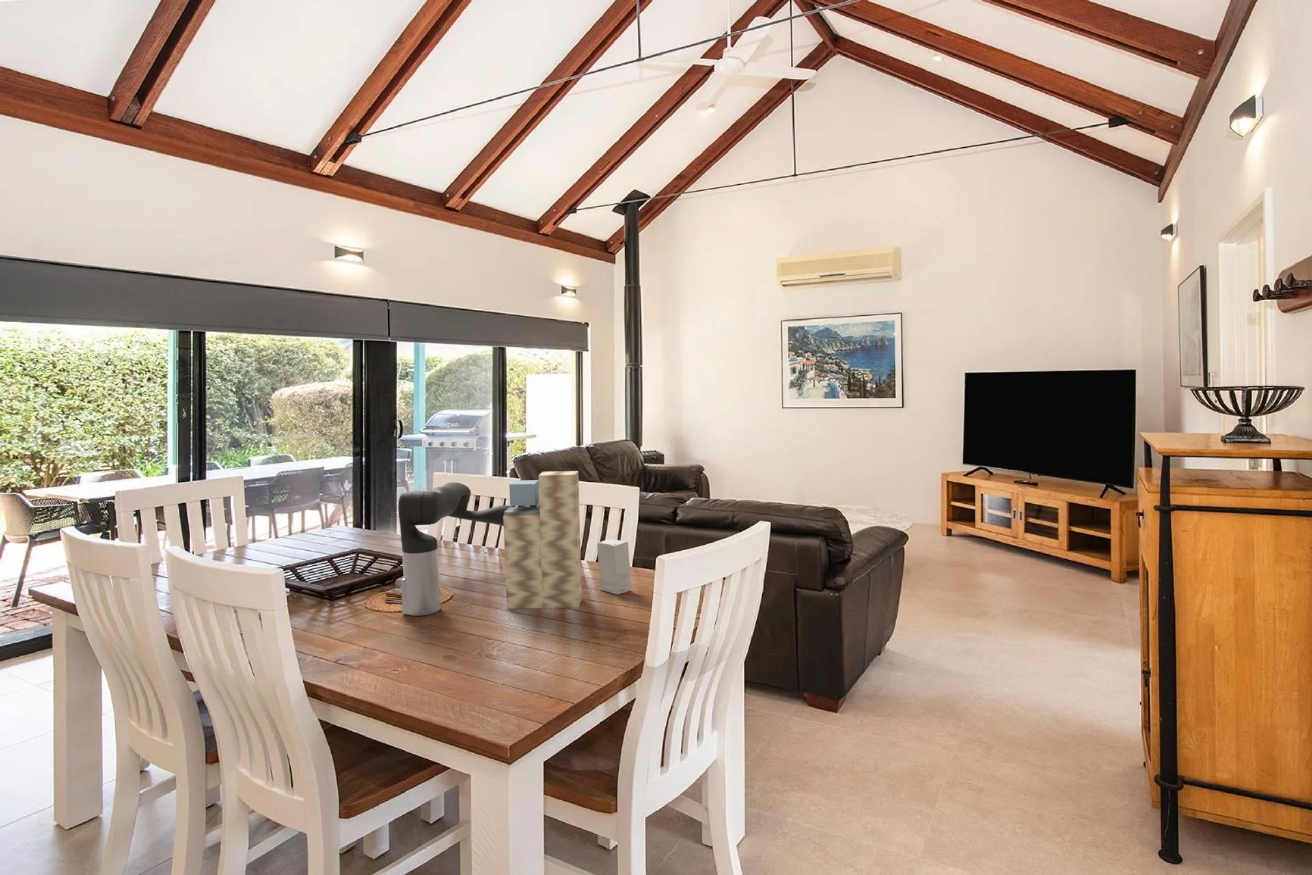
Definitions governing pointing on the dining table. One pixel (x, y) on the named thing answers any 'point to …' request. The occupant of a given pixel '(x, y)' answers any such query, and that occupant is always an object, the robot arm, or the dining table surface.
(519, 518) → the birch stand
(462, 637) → the dining table surface
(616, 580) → the skincare box
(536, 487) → the blue handle block
